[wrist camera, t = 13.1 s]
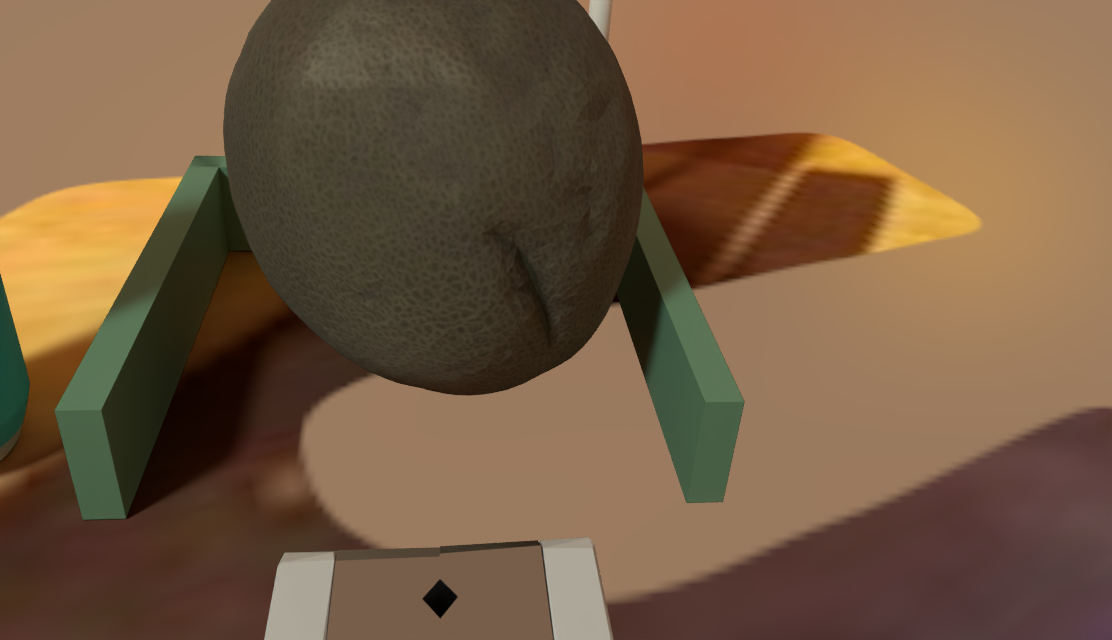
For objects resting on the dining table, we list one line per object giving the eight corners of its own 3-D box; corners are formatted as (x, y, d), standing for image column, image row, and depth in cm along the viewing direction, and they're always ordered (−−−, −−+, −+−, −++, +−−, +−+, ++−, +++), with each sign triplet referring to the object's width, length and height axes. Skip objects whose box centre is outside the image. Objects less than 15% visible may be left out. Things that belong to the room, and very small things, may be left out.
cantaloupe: (631, 292, 41) (678, -72, 34) (600, 511, 29) (661, 25, 22) (322, 252, 43) (297, -109, 35) (169, 447, 31) (79, -36, 23)
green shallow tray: (612, 213, 48) (656, -183, 39) (722, 502, 30) (855, -109, 21) (220, 207, 46) (165, -219, 36) (82, 519, 28) (-98, -169, 18)
